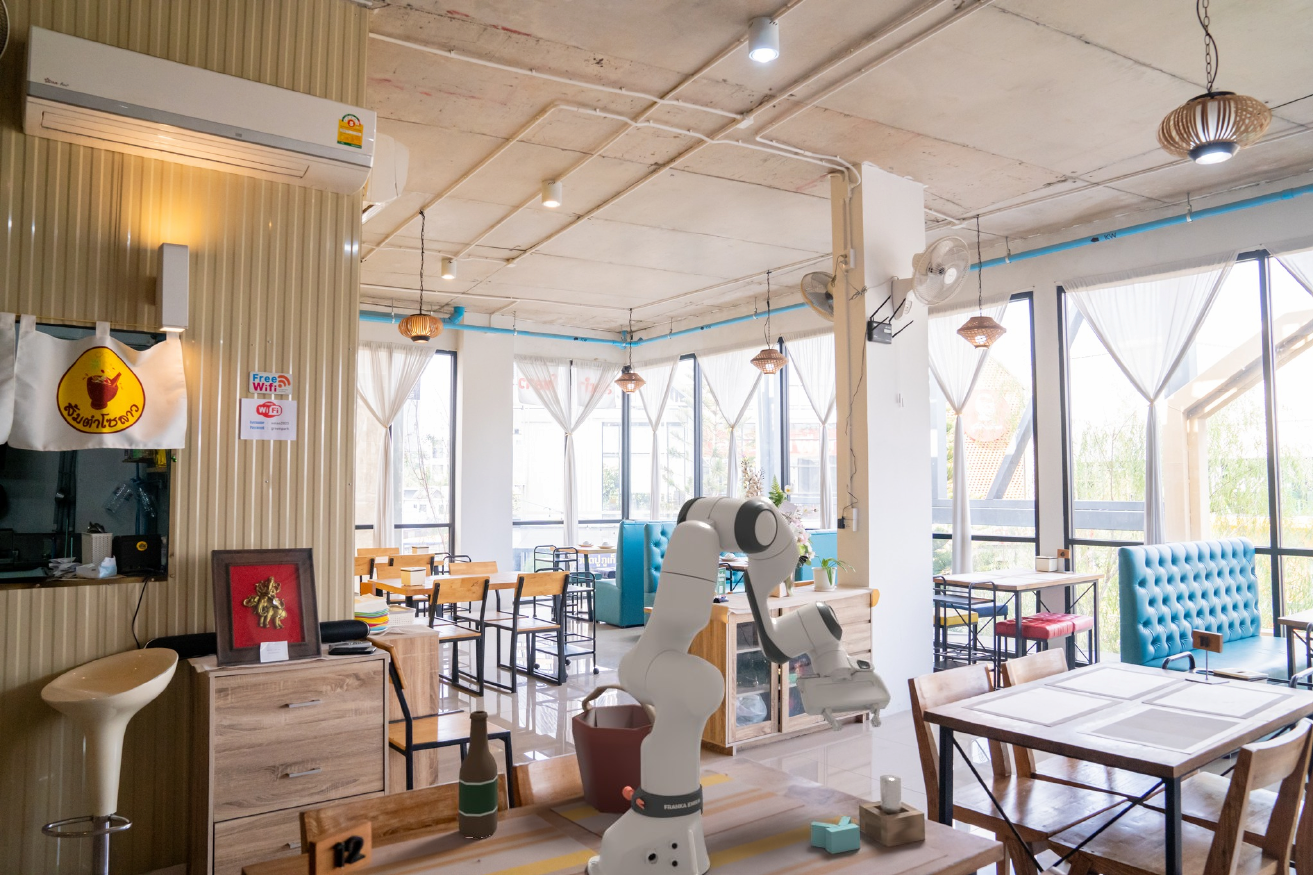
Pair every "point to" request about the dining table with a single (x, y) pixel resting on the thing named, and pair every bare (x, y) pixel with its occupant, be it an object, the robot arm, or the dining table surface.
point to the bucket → (610, 750)
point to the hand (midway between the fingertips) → (858, 727)
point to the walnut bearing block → (892, 824)
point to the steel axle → (890, 794)
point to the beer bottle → (478, 783)
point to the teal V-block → (836, 836)
